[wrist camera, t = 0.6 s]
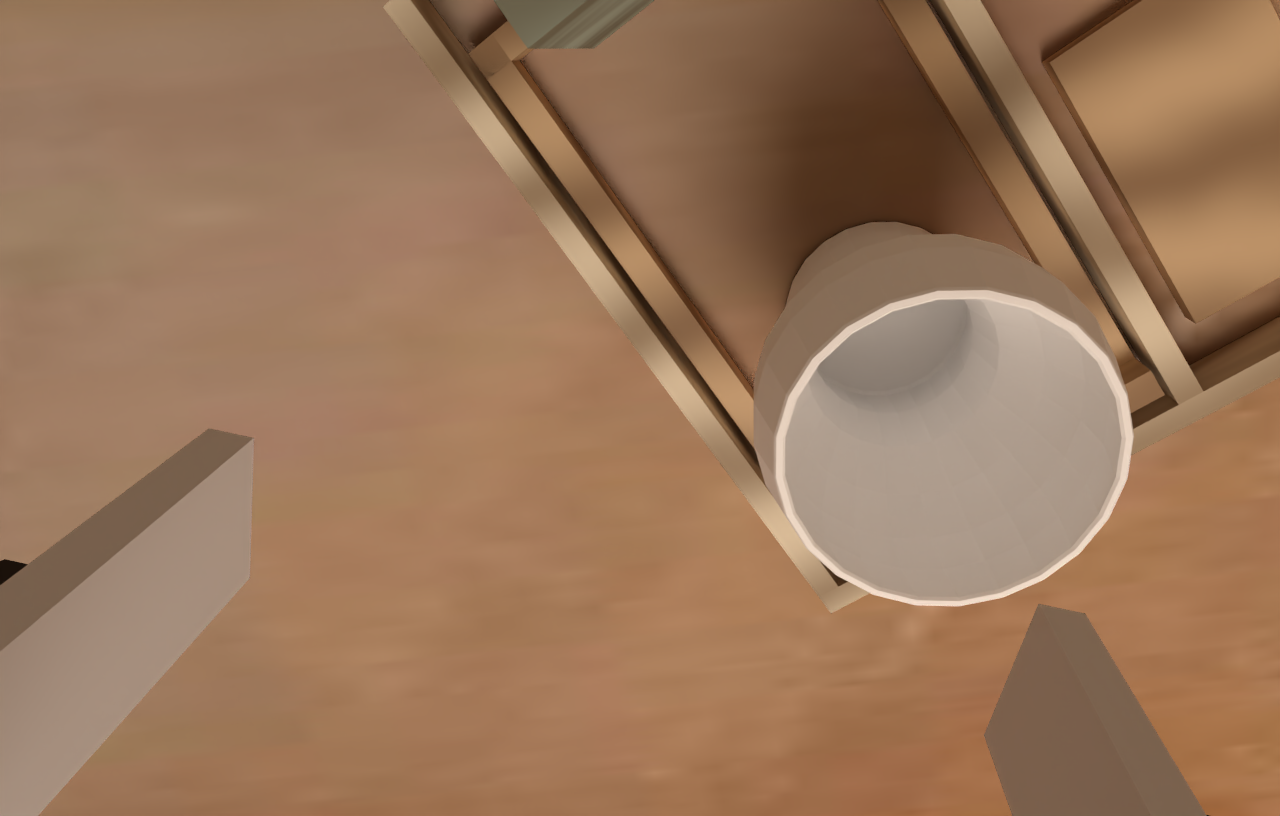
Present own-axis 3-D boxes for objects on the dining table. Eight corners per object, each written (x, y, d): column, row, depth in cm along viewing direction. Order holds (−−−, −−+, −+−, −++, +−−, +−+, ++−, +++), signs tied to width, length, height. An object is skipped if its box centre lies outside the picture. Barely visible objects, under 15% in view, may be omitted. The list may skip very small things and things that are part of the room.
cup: (1004, 164, 37) (1160, 235, 23) (1015, 414, 40) (1155, 607, 26) (735, 207, 39) (727, 297, 25) (767, 443, 42) (777, 639, 28)
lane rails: (404, 9, 37) (382, 6, 35) (1068, -573, 29) (1095, -625, 27) (826, 585, 44) (831, 613, 42) (1454, 248, 36) (1500, 261, 34)
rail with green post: (455, 22, 37) (330, 12, 26) (772, -248, 33) (785, -399, 22) (828, 539, 43) (856, 709, 32) (1135, 370, 39) (1289, 498, 28)
